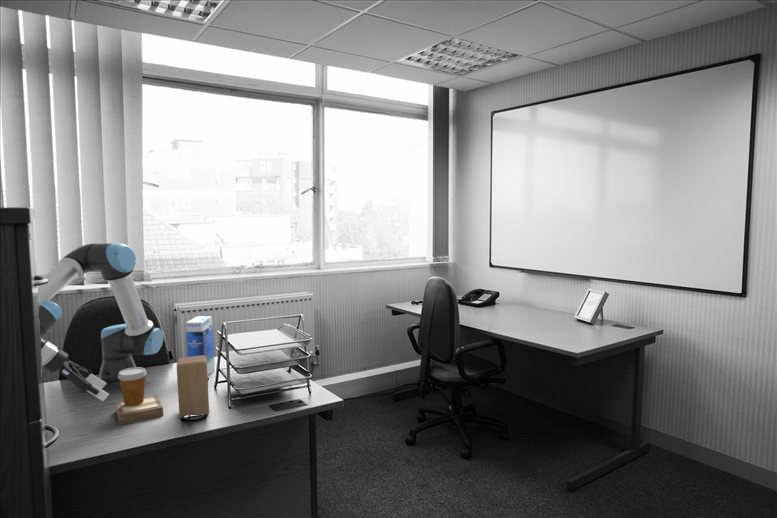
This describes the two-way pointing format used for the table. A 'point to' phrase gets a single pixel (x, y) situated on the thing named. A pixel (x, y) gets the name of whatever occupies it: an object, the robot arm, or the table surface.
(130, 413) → the walnut base
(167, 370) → the table surface
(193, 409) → the block
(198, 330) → the string lights box
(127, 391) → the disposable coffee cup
